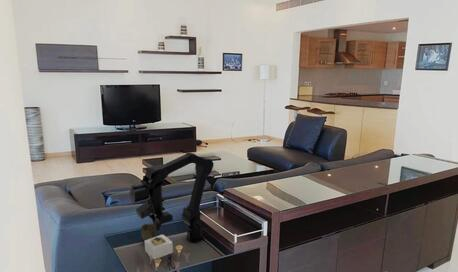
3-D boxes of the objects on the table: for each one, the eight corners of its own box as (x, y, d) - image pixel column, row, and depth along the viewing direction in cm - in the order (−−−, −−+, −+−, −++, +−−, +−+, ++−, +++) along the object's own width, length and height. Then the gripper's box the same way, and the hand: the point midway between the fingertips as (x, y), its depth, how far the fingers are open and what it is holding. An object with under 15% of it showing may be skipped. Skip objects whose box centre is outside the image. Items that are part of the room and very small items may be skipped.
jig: (163, 244, 153) (162, 234, 152) (172, 252, 147) (172, 242, 146) (145, 250, 148) (144, 240, 147) (153, 259, 141) (153, 249, 140)
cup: (153, 247, 151) (152, 230, 149) (138, 245, 153) (137, 229, 151) (160, 239, 158) (159, 223, 157) (145, 237, 160) (144, 222, 158)
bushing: (160, 248, 150) (160, 236, 149) (165, 252, 147) (164, 239, 146) (152, 251, 148) (151, 238, 146) (156, 255, 145) (156, 242, 143)
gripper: (128, 194, 144) (131, 228, 148) (147, 208, 130) (149, 245, 133) (152, 188, 151) (154, 221, 154) (172, 201, 137) (174, 236, 140)
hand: (157, 230), depth 145 cm, fingers closed
